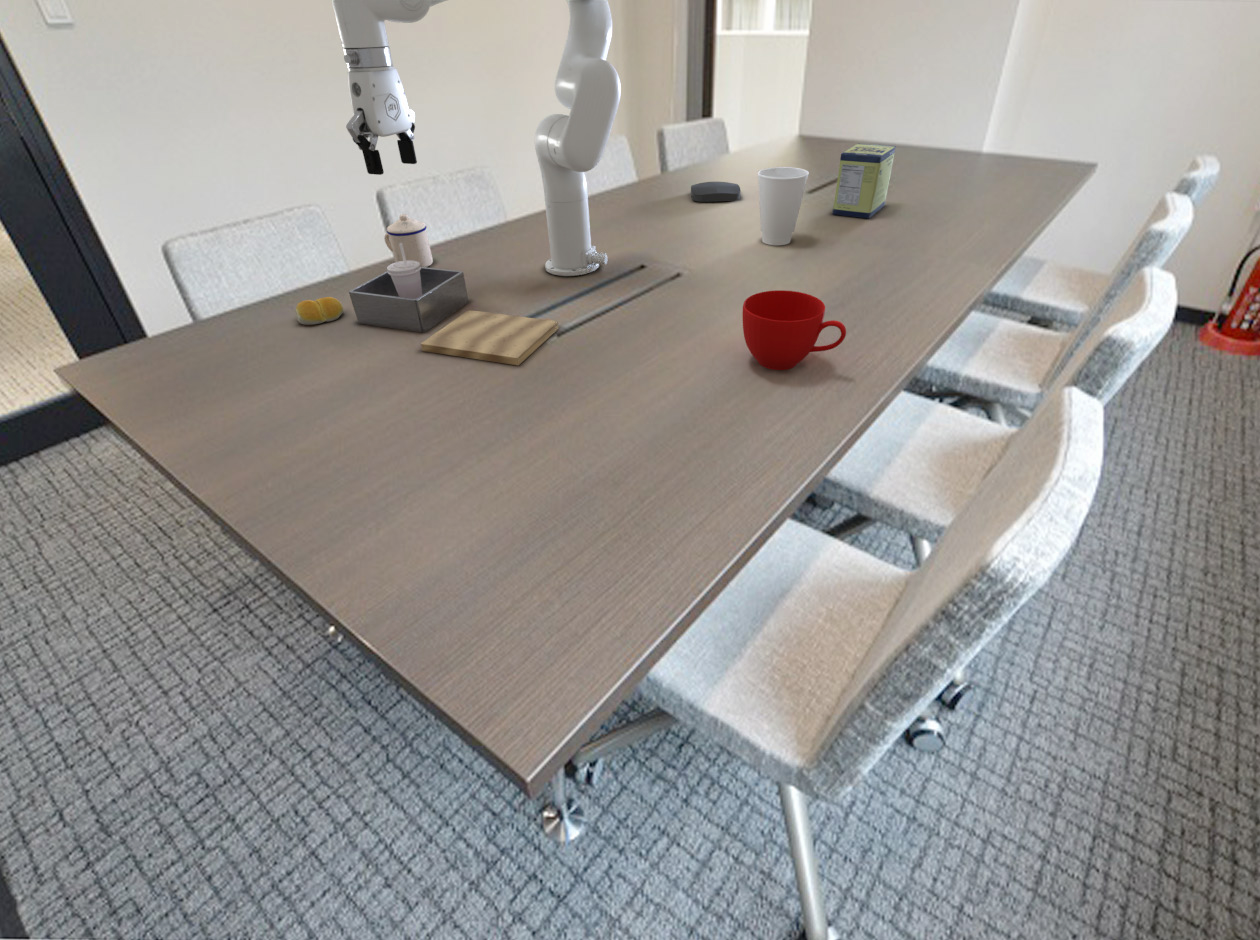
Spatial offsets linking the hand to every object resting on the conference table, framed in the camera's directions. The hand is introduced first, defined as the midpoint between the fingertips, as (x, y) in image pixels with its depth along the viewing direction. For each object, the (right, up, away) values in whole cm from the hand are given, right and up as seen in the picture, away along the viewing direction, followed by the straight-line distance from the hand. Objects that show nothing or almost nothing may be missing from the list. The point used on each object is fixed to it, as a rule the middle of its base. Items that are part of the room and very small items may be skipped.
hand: (393, 168), depth 120 cm
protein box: (+109, +16, +60) cm, 125 cm away
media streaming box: (+71, +28, +77) cm, 108 cm away
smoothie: (0, -24, +12) cm, 27 cm away
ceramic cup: (+71, -39, -12) cm, 82 cm away
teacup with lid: (-9, -6, +37) cm, 38 cm away
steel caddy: (0, -24, +12) cm, 27 cm away
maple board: (+19, -32, 0) cm, 37 cm away
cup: (+81, +1, +41) cm, 91 cm away
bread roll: (-19, -25, +12) cm, 34 cm away
